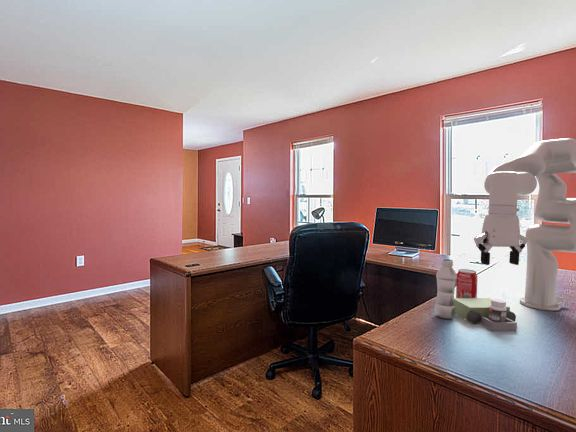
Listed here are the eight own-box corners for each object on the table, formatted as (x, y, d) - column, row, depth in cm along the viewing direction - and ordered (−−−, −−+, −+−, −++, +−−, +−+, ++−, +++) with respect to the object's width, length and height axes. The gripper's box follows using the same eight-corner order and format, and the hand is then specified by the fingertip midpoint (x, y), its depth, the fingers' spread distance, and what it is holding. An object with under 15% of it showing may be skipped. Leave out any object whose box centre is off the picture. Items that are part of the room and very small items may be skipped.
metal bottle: (453, 315, 115) (456, 259, 113) (456, 322, 108) (459, 262, 107) (433, 312, 117) (435, 257, 115) (435, 319, 110) (437, 261, 109)
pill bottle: (484, 324, 107) (486, 299, 106) (494, 322, 109) (496, 297, 108) (498, 329, 102) (500, 303, 102) (508, 327, 104) (510, 302, 104)
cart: (488, 309, 121) (489, 296, 120) (528, 330, 102) (529, 314, 102) (446, 310, 120) (447, 296, 119) (480, 331, 101) (481, 315, 101)
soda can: (479, 307, 124) (480, 273, 123) (458, 305, 125) (460, 272, 124) (472, 301, 131) (474, 269, 130) (453, 300, 132) (454, 268, 131)
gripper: (518, 210, 108) (516, 261, 109) (468, 210, 107) (466, 261, 108) (537, 211, 100) (534, 266, 101) (484, 211, 99) (481, 266, 100)
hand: (499, 264), depth 105 cm, fingers open, 9 cm apart
